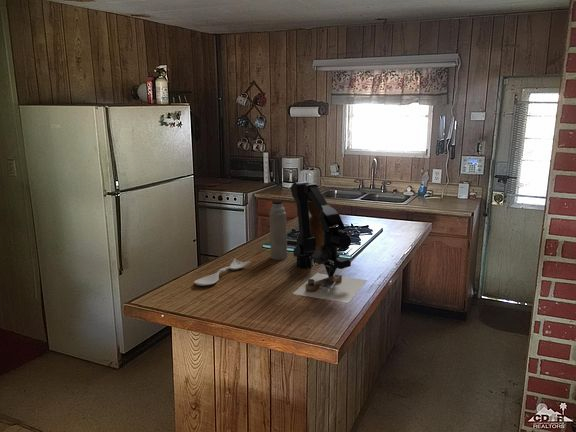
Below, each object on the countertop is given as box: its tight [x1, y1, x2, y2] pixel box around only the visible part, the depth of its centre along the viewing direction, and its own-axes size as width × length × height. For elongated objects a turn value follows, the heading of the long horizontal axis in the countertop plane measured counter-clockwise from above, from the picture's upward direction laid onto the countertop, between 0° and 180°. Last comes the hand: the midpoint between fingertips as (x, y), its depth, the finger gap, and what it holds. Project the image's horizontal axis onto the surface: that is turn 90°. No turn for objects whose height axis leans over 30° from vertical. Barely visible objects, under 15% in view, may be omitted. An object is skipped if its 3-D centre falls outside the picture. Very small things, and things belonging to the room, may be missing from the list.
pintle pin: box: [307, 278, 314, 285], centre depth 193 cm, size 2×2×2 cm
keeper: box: [320, 280, 335, 296], centre depth 191 cm, size 5×8×4 cm
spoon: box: [193, 258, 251, 287], centre depth 214 cm, size 9×32×4 cm, turn 149°
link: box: [306, 274, 343, 292], centre depth 197 cm, size 19×4×2 cm, turn 129°
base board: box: [292, 272, 369, 304], centre depth 197 cm, size 23×25×1 cm
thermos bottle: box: [268, 200, 288, 261], centre depth 235 cm, size 8×8×28 cm
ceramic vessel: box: [308, 197, 335, 250], centre depth 244 cm, size 16×22×30 cm
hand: (330, 278), depth 203 cm, fingers closed
